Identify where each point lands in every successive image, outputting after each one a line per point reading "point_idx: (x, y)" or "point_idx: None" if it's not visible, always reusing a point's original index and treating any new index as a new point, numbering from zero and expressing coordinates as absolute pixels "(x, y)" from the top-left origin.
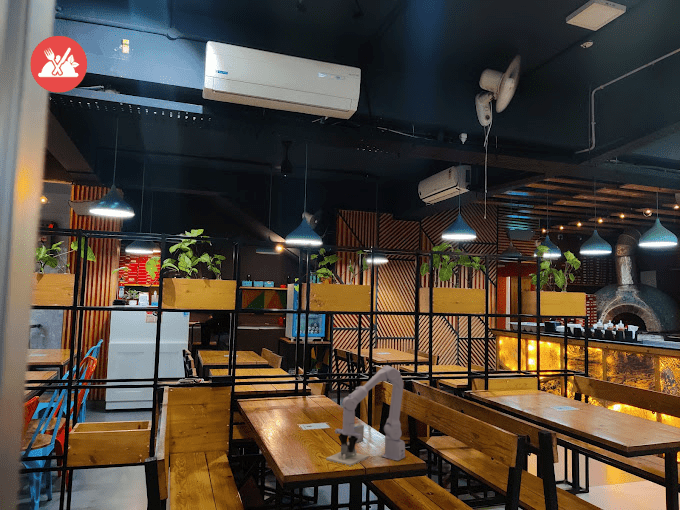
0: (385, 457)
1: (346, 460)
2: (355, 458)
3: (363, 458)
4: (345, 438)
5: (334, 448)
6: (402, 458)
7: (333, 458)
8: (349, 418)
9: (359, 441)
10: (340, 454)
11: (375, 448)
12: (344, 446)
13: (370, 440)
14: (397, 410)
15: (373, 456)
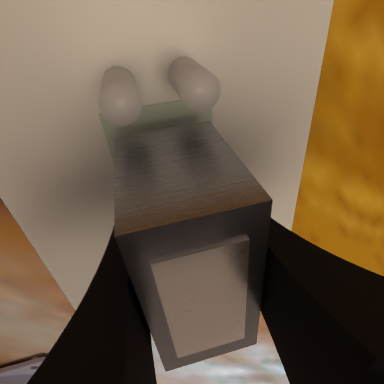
0: (9, 367)
1: (80, 91)
2: (81, 212)
3: (45, 264)
4: (301, 365)
5: (365, 237)
6: None
7: (250, 13)
8: None
9: None
10: (182, 81)
11: (185, 369)
12: (181, 205)
13: (265, 379)
14: None
15: None
